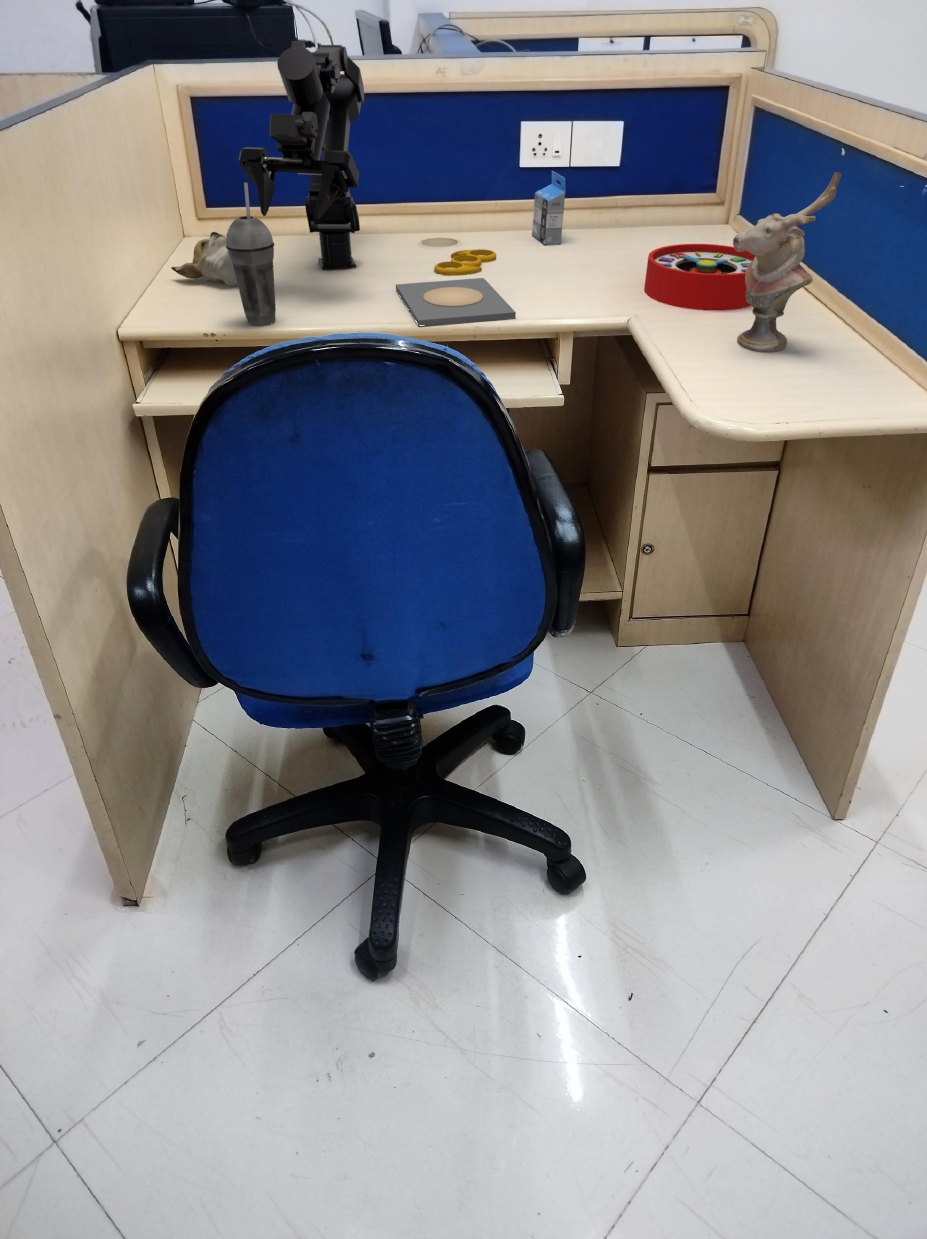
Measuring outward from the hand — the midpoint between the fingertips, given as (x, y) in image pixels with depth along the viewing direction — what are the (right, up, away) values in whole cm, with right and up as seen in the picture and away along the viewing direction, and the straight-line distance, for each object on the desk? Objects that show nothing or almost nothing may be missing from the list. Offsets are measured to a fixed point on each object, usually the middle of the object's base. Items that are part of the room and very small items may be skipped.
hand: (289, 215), depth 135 cm
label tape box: (+45, +15, +41) cm, 63 cm away
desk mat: (+26, -11, +7) cm, 29 cm away
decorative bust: (+71, -23, -8) cm, 75 cm away
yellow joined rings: (+28, +3, +27) cm, 39 cm away
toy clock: (+70, -8, +12) cm, 71 cm away
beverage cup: (-5, -17, +1) cm, 18 cm away
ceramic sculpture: (-16, -3, +19) cm, 25 cm away
